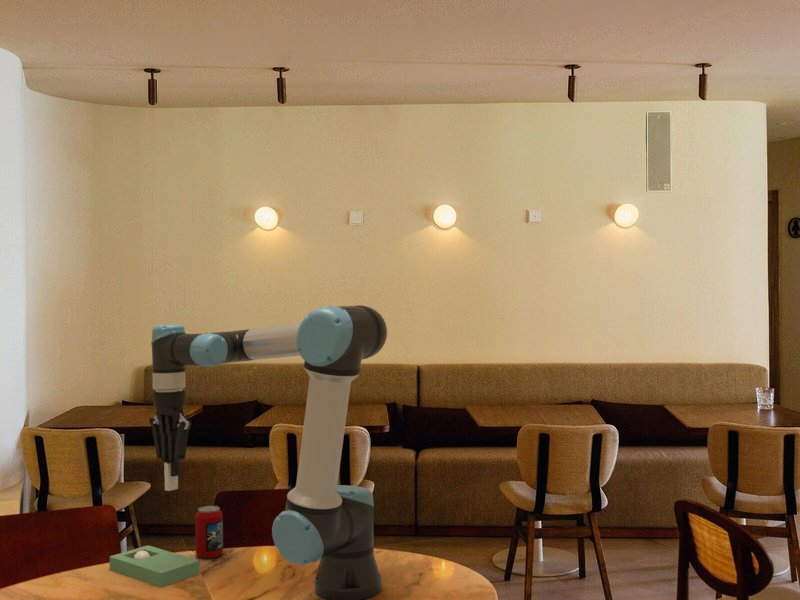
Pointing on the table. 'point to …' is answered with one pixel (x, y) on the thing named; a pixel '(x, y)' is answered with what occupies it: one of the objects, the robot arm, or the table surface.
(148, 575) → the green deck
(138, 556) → the ball
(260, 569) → the table surface
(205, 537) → the beverage can
